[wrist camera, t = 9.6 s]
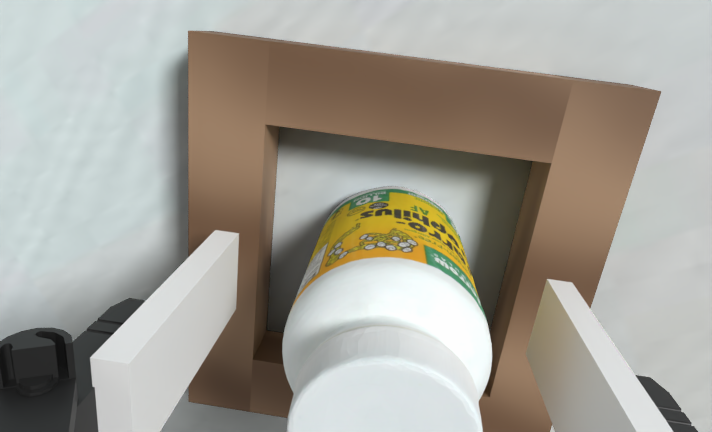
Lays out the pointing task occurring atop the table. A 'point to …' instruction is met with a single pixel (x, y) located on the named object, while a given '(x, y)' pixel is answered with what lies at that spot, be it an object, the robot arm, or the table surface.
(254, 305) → the holder frame
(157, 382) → the robot arm
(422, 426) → the supplement bottle
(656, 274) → the table surface
